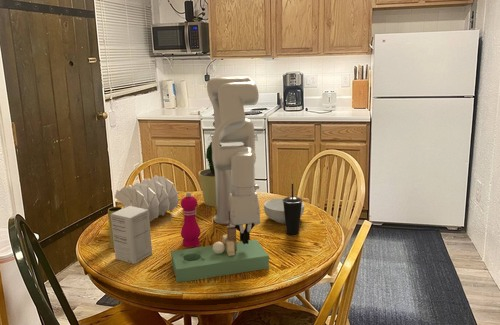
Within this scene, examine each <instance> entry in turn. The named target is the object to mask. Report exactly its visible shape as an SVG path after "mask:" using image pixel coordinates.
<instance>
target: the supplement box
mask: <svg viewBox="0 0 500 325" xmlns="http://www.w3.org/2000/svg"><path fill="white" fill-rule="evenodd" d="M111 222H112V232H113V241H114V248H113V249H114V257H115V260H118V261H122V262H125V263H129V264H131V265H132V264H133V265H135V264H137V263H139V262H140V261H142V260H144V259H146V258H147V257H149V256H151V255H152V254H153V248H152V237H151V234H152V233H151V224H150V223H151V222H150V220H149V211H148V210H147V209H143V208H138V207H133V206H128V207H126V208H124V209H123V208H122V209H121V210H119V211H117V212H114V213H112V214H111Z"/></svg>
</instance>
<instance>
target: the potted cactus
mask: <svg viewBox="0 0 500 325" xmlns="http://www.w3.org/2000/svg"><path fill="white" fill-rule="evenodd" d="M207 145H208V146H207V149H206V151H204V152H205V153H204V155H203V157H205V160H206V159H207V160H206V162H207V163H208V164H207V165H208V166H207V167H208V168H205V169H202V170H200V171H198V178H199V182H200V187H201V191H202V197H203V203H204V205H206V206H208V207H217V204H216V181H215V170H214V164H213V159H212V141H210V142H209V143H208V144H207ZM221 146H223V144H222V143H220V147H221Z"/></svg>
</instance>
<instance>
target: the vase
mask: <svg viewBox="0 0 500 325" xmlns="http://www.w3.org/2000/svg"><path fill="white" fill-rule="evenodd" d="M121 209H123V207H122V206H112V207H111V206H110V207H109V208H108V209H107V218H108V230H109V232H108V233H109V244H110V245H109V246H110V248H112V249H114V241H113V232H112V222H111V214H112V213H114V212H117V211H119V210H121Z"/></svg>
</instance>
